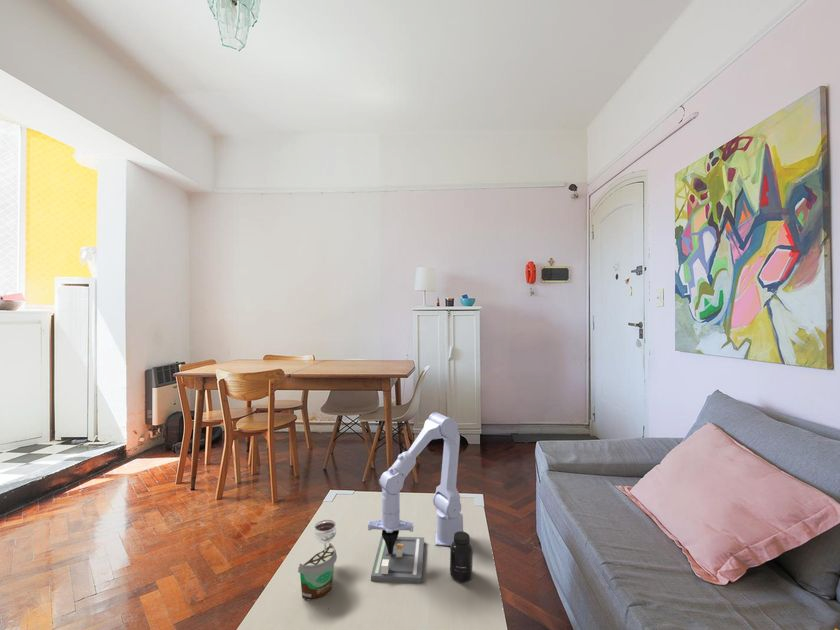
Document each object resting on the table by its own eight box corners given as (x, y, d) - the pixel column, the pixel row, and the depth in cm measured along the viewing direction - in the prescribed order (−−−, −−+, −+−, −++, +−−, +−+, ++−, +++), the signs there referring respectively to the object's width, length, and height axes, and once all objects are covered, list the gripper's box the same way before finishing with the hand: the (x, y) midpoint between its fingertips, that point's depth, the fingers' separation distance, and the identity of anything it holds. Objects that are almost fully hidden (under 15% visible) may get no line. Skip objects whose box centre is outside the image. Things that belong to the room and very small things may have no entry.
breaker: (389, 567, 114) (389, 559, 114) (387, 574, 111) (387, 566, 111) (382, 567, 114) (382, 559, 114) (381, 573, 111) (381, 565, 111)
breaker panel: (424, 541, 130) (424, 537, 130) (421, 582, 110) (421, 577, 110) (381, 540, 131) (381, 535, 131) (370, 580, 111) (370, 575, 111)
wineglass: (309, 567, 116) (309, 528, 116) (322, 554, 123) (322, 517, 123) (327, 572, 114) (328, 533, 114) (340, 559, 120) (340, 521, 120)
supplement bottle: (458, 586, 109) (458, 544, 109) (445, 571, 115) (445, 532, 115) (477, 578, 112) (477, 538, 112) (464, 564, 118) (464, 526, 118)
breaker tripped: (403, 551, 122) (403, 543, 122) (402, 557, 119) (402, 549, 119) (397, 551, 122) (397, 543, 122) (395, 557, 119) (396, 549, 119)
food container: (313, 610, 99) (313, 572, 99) (297, 601, 103) (297, 564, 103) (345, 582, 110) (345, 548, 110) (330, 574, 113) (330, 541, 113)
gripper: (366, 515, 117) (366, 559, 117) (412, 517, 116) (412, 560, 116) (370, 504, 124) (370, 545, 124) (413, 505, 123) (413, 546, 123)
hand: (390, 552), depth 120 cm, fingers closed
